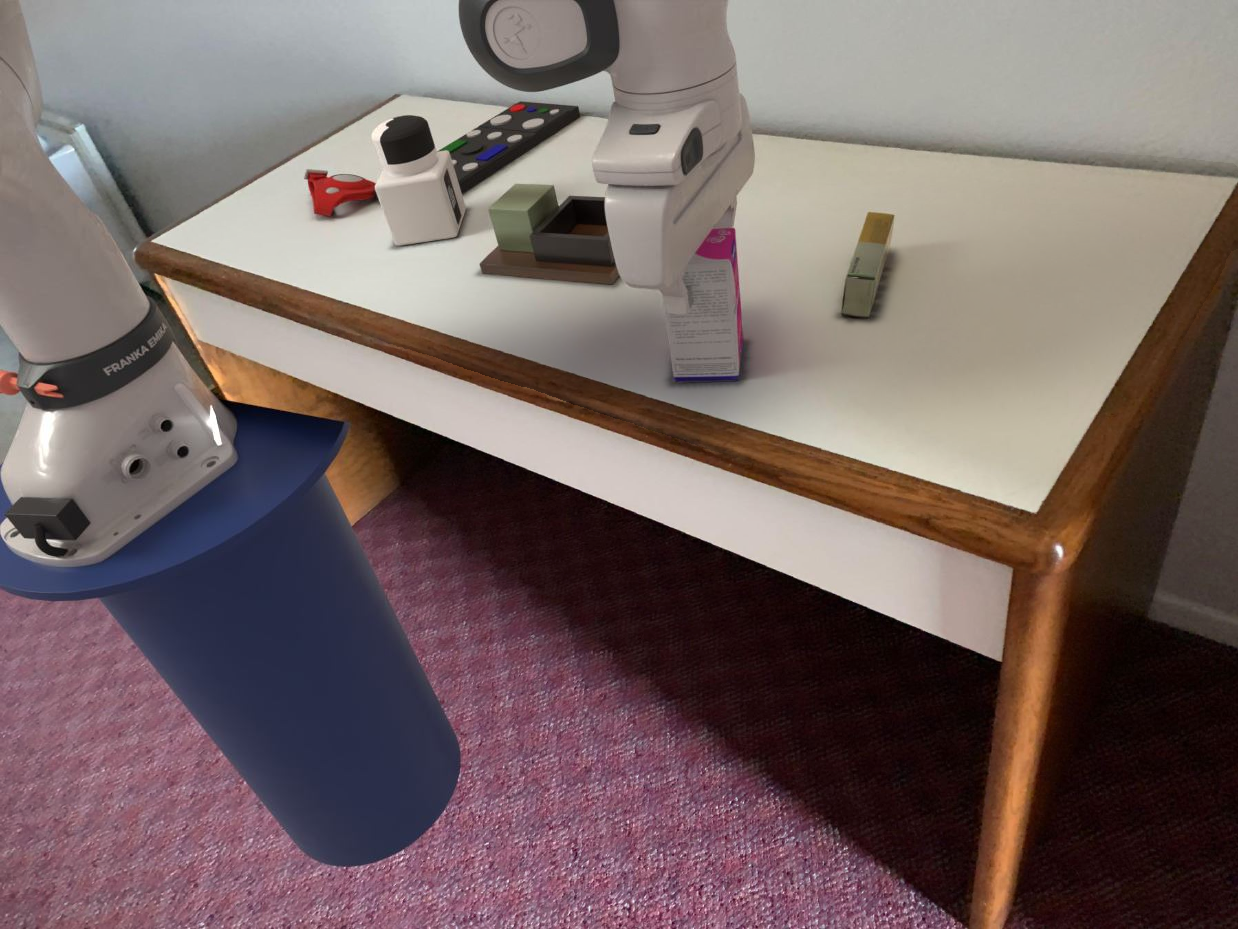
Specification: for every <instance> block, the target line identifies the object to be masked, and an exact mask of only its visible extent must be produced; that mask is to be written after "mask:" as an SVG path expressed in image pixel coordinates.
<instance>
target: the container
mask: <svg viewBox="0 0 1238 929" xmlns="http://www.w3.org/2000/svg"><path fill="white" fill-rule="evenodd" d="M370 136H371V140H372V143H373V146H374V148H375V151H376V154H377V157H378V160H379V164H380V166H381V168H382V169H383V170H382V171H381V174H380V175H379V177H378V179H377V180H376V182H375V183H376V185H375V190H376V193H377V196H378V199H379V201H378V202H379V205H380V208H381V210H382V212H383V216H384V218H385V221H386V224H387V227H388V229H389V232H390V235H391V238H392V240H393V243H394V245H395V246H397V247H400V246H407V245H413V244H414V245H415V244H420V243H426V242H433V241H440V240H447V239H453V238H456V237H457V236H458V234H459V231H460V228H461V225H462V223H463V222H462V221H463V219H464V216H465V214H466V210H467V208H466V203H465V201H464V197H463V194H462V193H461V190H460V186H459V183H458V180H457V176H456V173H455V169H454V166H453V163H452V159H451V156H450V153H449V151H447V150H445V151H439V150H437V147H436V145H435V141H434V138H433V135H432V131H431V128H430V124H429V122H428V120H426V118H425V117H422V116H419V115H413V114H406V115H399V116H396V117H392V118H389V119H386V120H384V121H383V122H381V123H380V124H379V125H377V126H376V127H375V128H374V129H373V131H372V133H371V135H370ZM437 151H439V152H437Z"/></svg>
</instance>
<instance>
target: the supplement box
mask: <svg viewBox="0 0 1238 929" xmlns="http://www.w3.org/2000/svg"><path fill="white" fill-rule="evenodd" d="M684 271H685V275H684V276H683V277H682V280H683V282H684V284H685V286H692V292H693V296H692V297H693V299H694V302H693V304H692V306H691V307H690V309H689V311H688V312H687V314H685V315H676V314H670V313H669V312H668V311H667V310H666V305H665V299H664V295H663V294H662V300H663V308H664V315H665V323H666V330H667V337H668V344H669V346H668V347H669V353H670V362H671V370H672V378H673V382H674V383H678V384H679V383H702V382H708V383H709V382H737V381H738V380H739V379H740V368H741V361H742V354H743V348H744V331H743V329H744V328H743V317H742V316H743V315H742V301H741V287H740V276H739V275H740V274H739V263H738V248H737V234H736V228H735V227H733V228H721V229H712V230H711V232H710V233H709V235H708V236H707V237H706V239H705V240H704V241H703V243H702V244H701V246H700V247H699V248H698V250H697V251H696V252H695V254H694V255H693V257H692V258H691V259H690V261H689V262H688V263H687V265H686V266H685V268H684Z"/></svg>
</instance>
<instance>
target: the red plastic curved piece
mask: <svg viewBox="0 0 1238 929" xmlns="http://www.w3.org/2000/svg"><path fill="white" fill-rule="evenodd" d="M328 174H329V171H328V170H324V169H313V168H311V169H310V168H305V171H304V176H303V179H304V180H307V185H308V190H309V193H310V196H311V198H312V205H313V213H314V214H316V215H320V216H324V217H325V216H326V217H331V215H332V213H333V211H334V209H335V208H337V207H339V206H340V205H343V204H344V203H347V202H353V201H355V202H356V201H363V200H369V199H374V198H376V197H375V194H374V192H373V190H374V189H375V185H376V183H377V182H374V181H372V180H370V179H367V178H364V177H363V176H360V175H356V174H349V173H339V174H334V175H330V176H328Z"/></svg>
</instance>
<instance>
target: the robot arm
mask: <svg viewBox="0 0 1238 929" xmlns="http://www.w3.org/2000/svg"><path fill="white" fill-rule="evenodd" d="M729 2H730V1H729V0H458V20H459V25H460V26H459V27H460V29H461V33H462V36H463V37H462V38H463V40H464V42H465V44H466V46H467V48H468V50H469V52H470V54H471V55H472V57H473V59H474V60H475V61H476V63H477V64H478V65H479V66H480V67H481V69H482V70H483V71H485V73H486V74H488V75H489V76H490V77H491V78H492V79H494V80H495V81H496V82H498V83H500V84H502V85H503V86H505V87H507V88H510V89H513V90H515V91H519V92H525V93H539V92H545V91H549V90H554V89H557V88H560V87H564V86H567V85H570V84H573V83H576V82H579V81H582V80H585V79H589V78H590V77H593V76H596V75H597V74H600V73H602V72H605V73H608V74H609V75H610V80H611V85H612V91H613V95H614V101H613V102H612V104H611V106H610V109H609V114H608V118H607V122H606V123H605V124H606V125H605V127H604V130H603V132H602V135H601V137H600V139H599V141H598V143H597V145H596V147H595V149H594V151H593V154H592V157H591V167H592V173H593V176H594V179H595V181H596V182H597V183H598V184H603V185H607V186H606V190H605V194H604V197H605V215H606V222H607V227H608V232H609V237H610V241H611V246H612V250H613V254H614V258H615V262H616V266H617V270H618V273H619V277H620V279H621V280H622V281H623V282H624V283H625V284H626V285H627V286H629V287H630V288H634V289H643V290H655V291H659V292H660V293H661V294H662V296H663V295H664V299H665V305H666V310H667V311H668V312H669V313H670V314H676V315H685V314H687V312H688V311H689V309H690V307H691V306H692V304H693V302H694V299H693V297H692V296H693V292H692V286H685V284H684V282H683V280H682V277H683V276H684V275H685V271H684V268H685V266H686V265H687V263H688V262H689V261H690V259H691V258H692V257H693V255H694V254H695V252H696V251H697V250H698V248H699V247H700V246H701V244H702V243H703V241H704V240H705V239H706V237H707V236H708V235H709V233H710V232H711V230H712V229H721V228H734V227H735V226H734V225H735V219H736V211H737V206H738V195H739V194H740V192H741V191H742V190H743V188H744V187H745V185H746V184H747V183H748V181H749V180H750V179H751V177H752V176H753V174H754V169H755V164H756V151H755V145H754V144H755V143H754V137H753V129H752V124H751V117H750V112H749V108H748V103H747V100H746V97H745V96H744V95H743V94H742V93H741V92H740V87H739V86H740V85H739V76H738V64H737V55H736V51H735V47H734V45H733V43H732V42H733V41H732V40H731V38H730V34H729V30H728V22H727V16H728V15H727V14H728V6H729ZM43 106H44V98H43V91H42V86H41V81H40V77H39V73H38V68H37V64H36V60H35V55H34V51H33V47H32V44H31V40H30V36H29V31H28V28H27V25H26V20H25V17H24V14H23V9H22V7H21V3H20V0H0V326H1V328H2V330H3V331H4V332H5V333H6V335H7V336H8V338H9V339H10V341H11V342H12V344H13V345H14V347H16V349H17V350H18V363H19V368H18V372H13V371H8V370H4V369H0V394H4V395H6V396H15V395H17V394H19V393H21V395H22V396H23V397H24V398H25V400H26V402H27V404H26V406H25V409H24V412H23V414H22V417H21V420H20V422H19V425H18V427H17V430H16V432H15V435H14V436H13V440H12V442H11V443H10V447H9V450H8V451H7V454H6V456H5V459H4V460H3V462H4V463H3V462H2V463H3V465H2V467H1V480H2V484H3V487H4V489H5V492H6V494H7V496H8V498H9V500H10V502H11V504H12V506H11V507H10V508H9V509H8V510H7V512H6V513H5V514H4V515H5V516H6V517H7V518H6V519H5V520H4V521H3V522H2V524H1V525H0V534H1V537H2V539H3V540H4V542H5V543H6V545H7V546H8V548H9V549H10V550H11V551H13V552H14V553H15V554H17V555H18V556H20V557H22V558H24V559H27V560H30V561H32V562H35V563H39V564H43V565H47V566H53V567H81V566H87V565H92V564H96V563H100V562H102V561H104V560H105V559H107V558H108V557H110V556H111V555H113V554H114V553H115V552H117V551H118V550H119V549H121V548H122V547H124V546H125V545H126V544H128V543H129V542H130V541H132V540H133V539H134V538H136V537H137V536H139V535H140V534H141V533H143V532H144V531H145V530H147V529H148V528H149V527H151V526H152V525H154V524H155V523H156V522H158V521H159V520H160V519H162V518H163V517H164V516H166V515H167V514H168V513H170V512H171V511H173V510H174V509H175V508H177V507H178V506H179V505H181V504H182V503H183V502H185V501H186V500H188V499H189V498H190V497H192V496H193V495H194V494H196V493H197V492H198V491H200V490H201V489H202V488H204V487H205V486H207V485H208V484H209V483H211V482H212V481H213V480H215V479H216V478H217V477H219V476H220V475H222V474H223V473H224V472H226V471H227V470H228V469H230V468H231V467H232V466H233V465H234V464H235V463H236V462H237V460H238V454H237V451H236V449H235V447H234V439H235V435H236V432H237V420H236V417H235V415H234V414H233V413H232V412H231V411H230V410H229V409H228V408H227V407H226V406H225V405H224V404H222V403H221V402H220V401H219V400H218V399H219V398H218V399H217V397H216V395H215V394H214V393H213V392H212V391H211V390H210V389H209V388H208V386H207V385H206V384H205V383H204V381H203V380H202V379H201V378H200V376H199V375H198V374H197V373H196V372H195V370H194V368H192V366H191V365H190V364H189V362H188V361H187V359H186V358H185V356H184V355H183V354H182V352H181V351H180V349H179V348H178V342H177V339H176V336H175V334H174V331H173V330H172V328H171V326H170V325H169V323H168V320H166V317H165V316H164V313H163V312H162V311H161V310H160V308H159V306H158V305H157V303H156V301H155V299H153V298H152V297H150V296H148V295H146V294H145V292H144V290H143V288H142V286H141V285H140V283H139V281H138V280H137V277H136V276H135V274H134V272H133V270H132V269H131V267H130V265H129V263H128V261H126V259H125V257H124V255H123V253H122V251H121V249H120V248H119V246H118V244H117V243H116V241H115V239H114V237H113V236H112V234H111V232H110V230H109V229H108V227H107V225H106V224H105V222H104V221H103V220H102V219H101V218H100V217H99V216H98V215H97V214H96V213H95V212H93V211H92V210H91V209H90V208H89V207H88V206H87V205H86V204H85V203H84V201H83V200H82V199H81V198H80V196H78V194H77V193H76V192H75V191H74V189H73V188H72V187H71V185H70V184H69V183H68V181H66V179H65V178H64V177H63V176H62V174H61V173H60V171H58V169H57V168H56V166H55V165H54V163H53V162H52V160H51V159H50V158H49V156H48V155H47V153H46V152H45V150H44V148H43V146H42V144H41V141H40V139H39V136H38V134H37V128H38V126H39V123H40V120H41V116H42V112H43Z"/></svg>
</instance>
